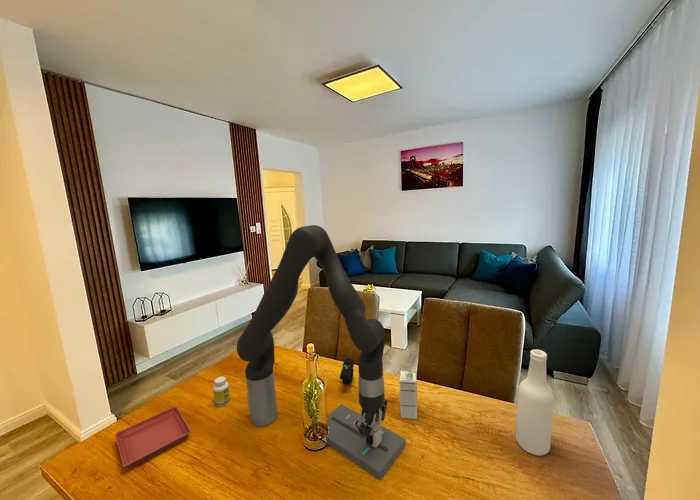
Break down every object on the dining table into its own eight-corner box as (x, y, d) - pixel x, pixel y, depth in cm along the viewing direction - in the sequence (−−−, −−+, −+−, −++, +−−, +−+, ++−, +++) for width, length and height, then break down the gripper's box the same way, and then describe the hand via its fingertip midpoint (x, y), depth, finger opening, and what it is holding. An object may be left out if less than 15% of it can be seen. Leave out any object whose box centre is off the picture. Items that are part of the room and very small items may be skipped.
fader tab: (364, 441, 89) (364, 423, 88) (370, 434, 91) (370, 417, 90) (376, 448, 86) (375, 430, 85) (381, 441, 89) (381, 423, 88)
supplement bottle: (226, 407, 111) (223, 383, 109) (212, 407, 111) (209, 384, 110) (232, 397, 116) (229, 375, 115) (219, 398, 117) (216, 375, 115)
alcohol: (545, 436, 91) (552, 346, 86) (554, 460, 83) (562, 362, 78) (512, 430, 94) (517, 343, 89) (518, 453, 86) (524, 358, 81)
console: (313, 434, 96) (313, 427, 96) (341, 410, 107) (341, 403, 106) (380, 480, 80) (379, 471, 79) (405, 445, 90) (405, 438, 90)
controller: (355, 375, 127) (354, 354, 125) (350, 394, 115) (348, 370, 113) (345, 374, 128) (344, 353, 126) (339, 393, 116) (338, 370, 114)
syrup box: (417, 419, 100) (417, 381, 98) (399, 417, 102) (399, 379, 99) (417, 408, 106) (416, 371, 103) (400, 406, 107) (399, 370, 105)
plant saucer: (177, 413, 110) (176, 405, 109) (193, 439, 97) (191, 430, 96) (116, 442, 97) (114, 433, 97) (125, 477, 85) (123, 467, 84)
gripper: (374, 371, 93) (376, 420, 96) (345, 395, 83) (348, 448, 86) (395, 380, 89) (396, 430, 92) (367, 406, 78) (369, 462, 81)
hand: (373, 439), depth 89 cm, fingers closed on fader tab, 3 cm apart
